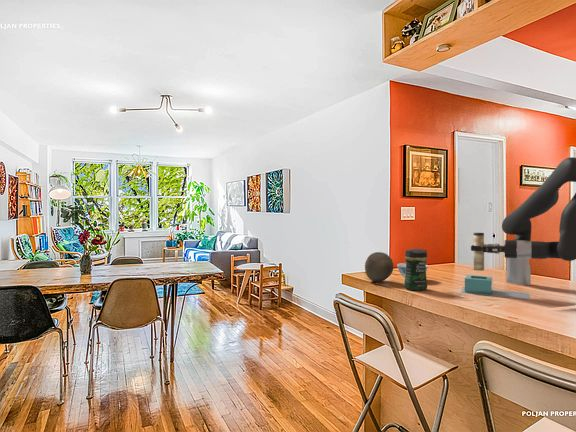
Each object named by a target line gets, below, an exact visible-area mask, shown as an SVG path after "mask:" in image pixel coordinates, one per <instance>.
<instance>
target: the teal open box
mask: <svg viewBox="0 0 576 432" xmlns="http://www.w3.org/2000/svg"><path fill="white" fill-rule="evenodd" d="M464 287H465V292H466V293H465V294H467V293H476V294H475V295H477V294H486V295H485V296H488V295H491V294H492V290H493V276H489V275H477V274H476V275H475V274H474V275H473V274H466V275H465V277H464Z"/></svg>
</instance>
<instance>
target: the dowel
mask: <svg viewBox="0 0 576 432" xmlns="http://www.w3.org/2000/svg"><path fill="white" fill-rule="evenodd" d="M484 244H485V233H484V232H473V245H474V246H482V245H483V246H484ZM473 271H485V252H481V251H473Z"/></svg>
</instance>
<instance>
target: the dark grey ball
mask: <svg viewBox="0 0 576 432" xmlns="http://www.w3.org/2000/svg"><path fill="white" fill-rule="evenodd" d="M364 271H365V274H366V276H367V278H368V279H369V280H370V281H372V282H374V283H380V282H381V283H382V282H384V281H385V280H386V281H387V279H388V278H390V277H391V275H392V274H393V271H394V262H393V259H392V258H391V256H389V255H388V253H386V252H381V251H377V252H373V253H371V254H369V255H368V257H367V258H366V260H365V263H364Z"/></svg>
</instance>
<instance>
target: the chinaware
mask: <svg viewBox="0 0 576 432" xmlns="http://www.w3.org/2000/svg"><path fill="white" fill-rule="evenodd" d="M396 266H397V270H398V272H399V274H400V275H401V276H402V277H403V278H405V275H406V262H402V263H397V265H396ZM428 267H429V265H428V264H426V272H427V271H428Z"/></svg>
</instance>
